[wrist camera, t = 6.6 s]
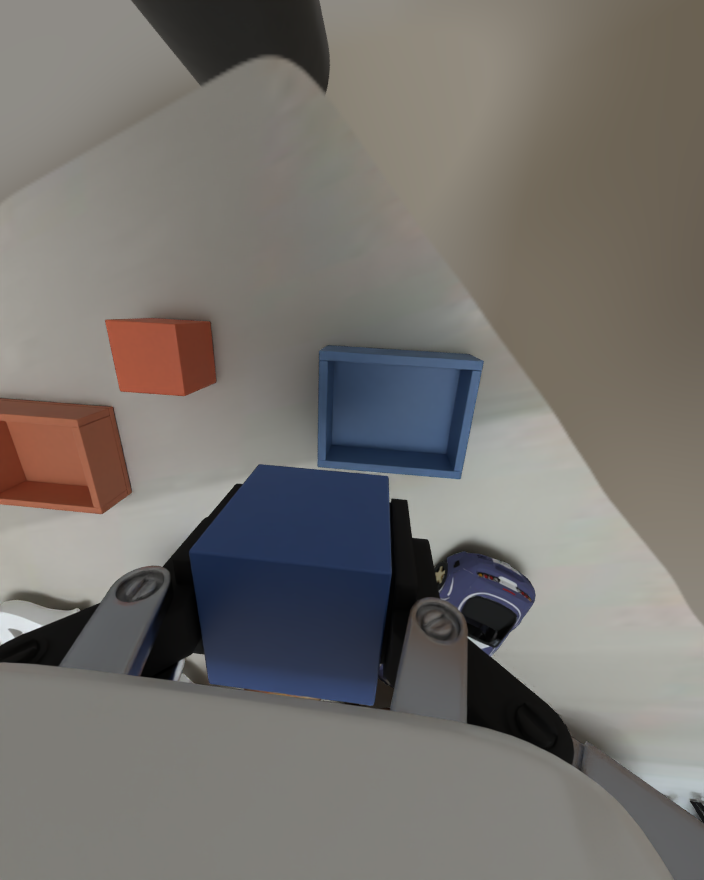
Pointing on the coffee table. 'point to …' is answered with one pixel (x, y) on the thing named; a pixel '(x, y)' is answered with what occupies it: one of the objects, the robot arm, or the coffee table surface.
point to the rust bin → (60, 456)
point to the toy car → (491, 582)
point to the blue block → (297, 584)
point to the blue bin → (395, 410)
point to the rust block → (162, 355)
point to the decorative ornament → (32, 620)
